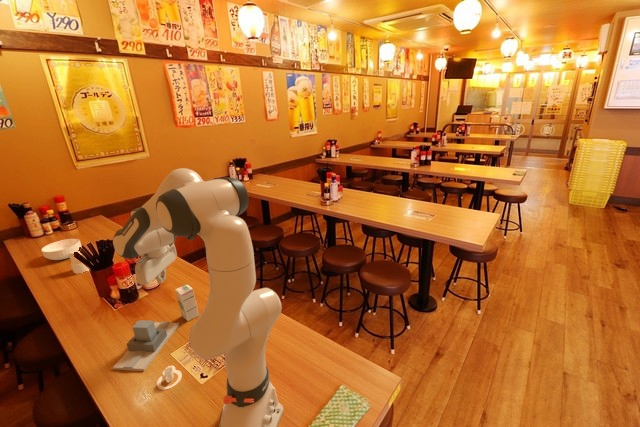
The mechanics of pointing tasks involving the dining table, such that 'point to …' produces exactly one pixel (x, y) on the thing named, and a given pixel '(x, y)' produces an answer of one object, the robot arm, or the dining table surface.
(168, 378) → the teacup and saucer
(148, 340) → the block
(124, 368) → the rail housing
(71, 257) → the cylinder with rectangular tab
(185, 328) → the dining table surface
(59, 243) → the bowl
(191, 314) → the syrup box
